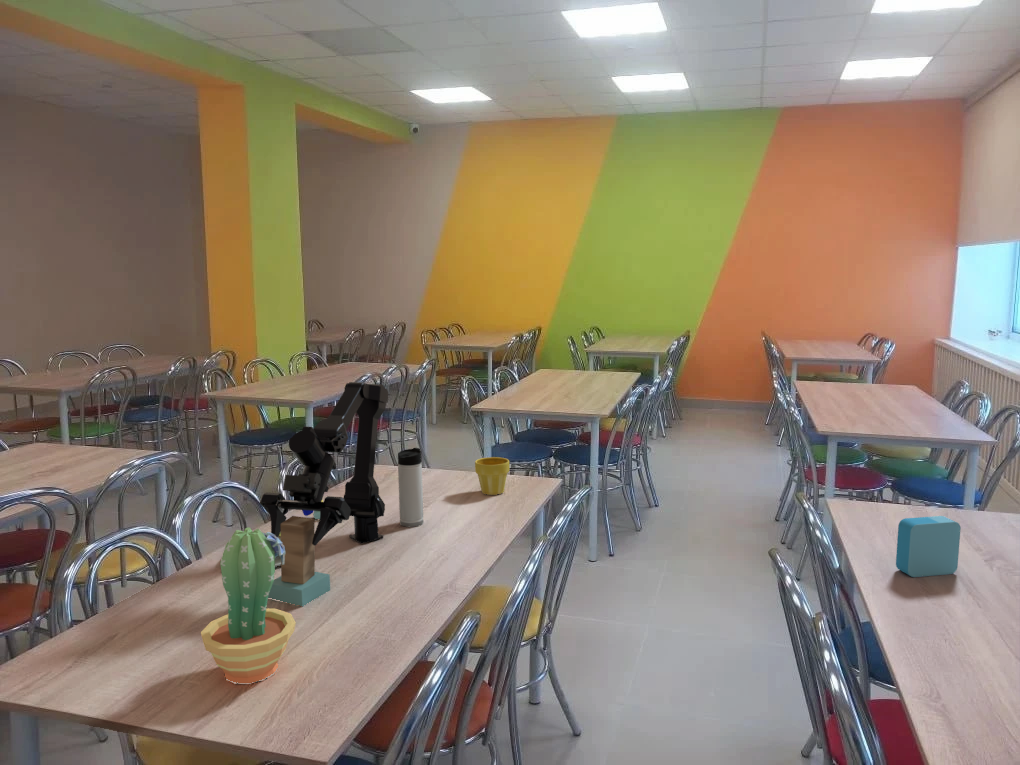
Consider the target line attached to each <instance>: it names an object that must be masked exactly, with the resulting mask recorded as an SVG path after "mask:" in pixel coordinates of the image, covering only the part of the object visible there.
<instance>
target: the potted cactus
mask: <svg viewBox="0 0 1020 765" xmlns="http://www.w3.org/2000/svg"><path fill="white" fill-rule="evenodd" d="M243 530H244V531H243ZM243 530H239V529H236V530H235V531H234V532H233V533H232V536H231V537H230V538H229V540H228V541H227V542H226V544H225V546H224V550H223V552H222V556H221V559H220V561H219V562H220V563H219V564H220V573H221V580H222V585H223V588H224V591H225V593H226V596H227V601H228V602H227V608H228V609H227V614H225V615H223V616H220V617H218V618H216V619H214V620H212V621H210V622H209V623H208V624H207V625H206V626H205V627H204V628H203V629H202V631H200V635H201V640H202V643H203V646H204V650H205V651H207V652H209V653H210V654H211V656H212V658H213V660H214V662H215V664H216V665H217V667H218V668H220V670H221V671H223V674H224V673H225V676H224V678H225V677H226V679H228V680H230V681H233V682H236V683H237V682H238V683H252V682H256V681H259V680H262V679H265V678H266V677H268V676H270V675H271V674H273V673H274V672H275V671H276V669H277V668H278V666H279V664H278V662H279V660H280V659H281V657H282V656H283V654H284V653H285V651H286V649H287V646H288V643H289V639H290V638H291V637H292V635H293V633H295V629H296V623H297V622H296V621H295V618H294V617H293V615H292V613H290V612H287V611H284V610H282V609H281V610H280V609H277V608H271V607H270V608H269V607H268V601H269V600H268V595H269V592H270V590H271V587H272V584H273V582H274V579H275V572H276V568H275V558H276V557H277V556H278V555H279V556H281V560H282V565H284V563H285V547H284V545H283V544H282V542H281V541H280V540H279V538H278V537H276V536H275V535H274V534H272V533H271V531H267V532H266V533H265V532H263V531H262V530H261V529H259V528H256V529H254V530H252V529H251V527H250V526H249V527H246V528H244V529H243ZM267 607H268V608H267Z"/></svg>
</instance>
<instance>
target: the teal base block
mask: <svg viewBox="0 0 1020 765" xmlns="http://www.w3.org/2000/svg"><path fill="white" fill-rule="evenodd" d="M330 578H331V575H330V574H329V573H323V572H318V571H315V575H314V576H313V577H311V578H310V579H309V580H308V581H307V582H306V583H304V584H298V583H291V582H284V581H281V575H280V576H278V577H276V578H274V582H273V584H272V587H271V590H270V592H269V595H268V598H272V599H276V600H280V601H283V602H287V603H291V604H295V605H294V606H296V605H300V606H303V607H305V606H307V605H308V604H310V603H312V602H313V601H315V600H317V599H319V598H320V597H321V595H322V596H324V595H325V594H326V592H327V593H329V592H330V591H331V579H330ZM319 596H320V597H319ZM316 598H317V599H316ZM314 599H315V600H314ZM312 600H313V601H312ZM311 601H312V602H311ZM309 602H310V603H309ZM307 603H308V604H307ZM291 604H290V605H291ZM306 604H307V605H306ZM304 605H305V606H304ZM300 606H299V607H300Z"/></svg>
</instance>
